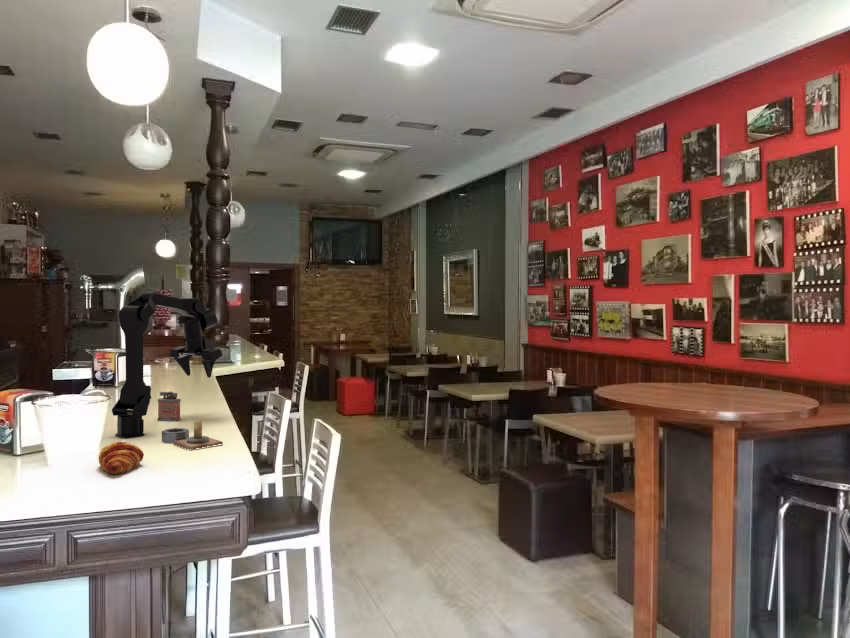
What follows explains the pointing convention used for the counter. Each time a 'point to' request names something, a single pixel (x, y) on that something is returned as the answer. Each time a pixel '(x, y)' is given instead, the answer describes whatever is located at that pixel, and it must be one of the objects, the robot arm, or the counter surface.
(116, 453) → the croissant
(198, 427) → the peg stand
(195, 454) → the counter surface
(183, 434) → the ring
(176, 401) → the lighter
